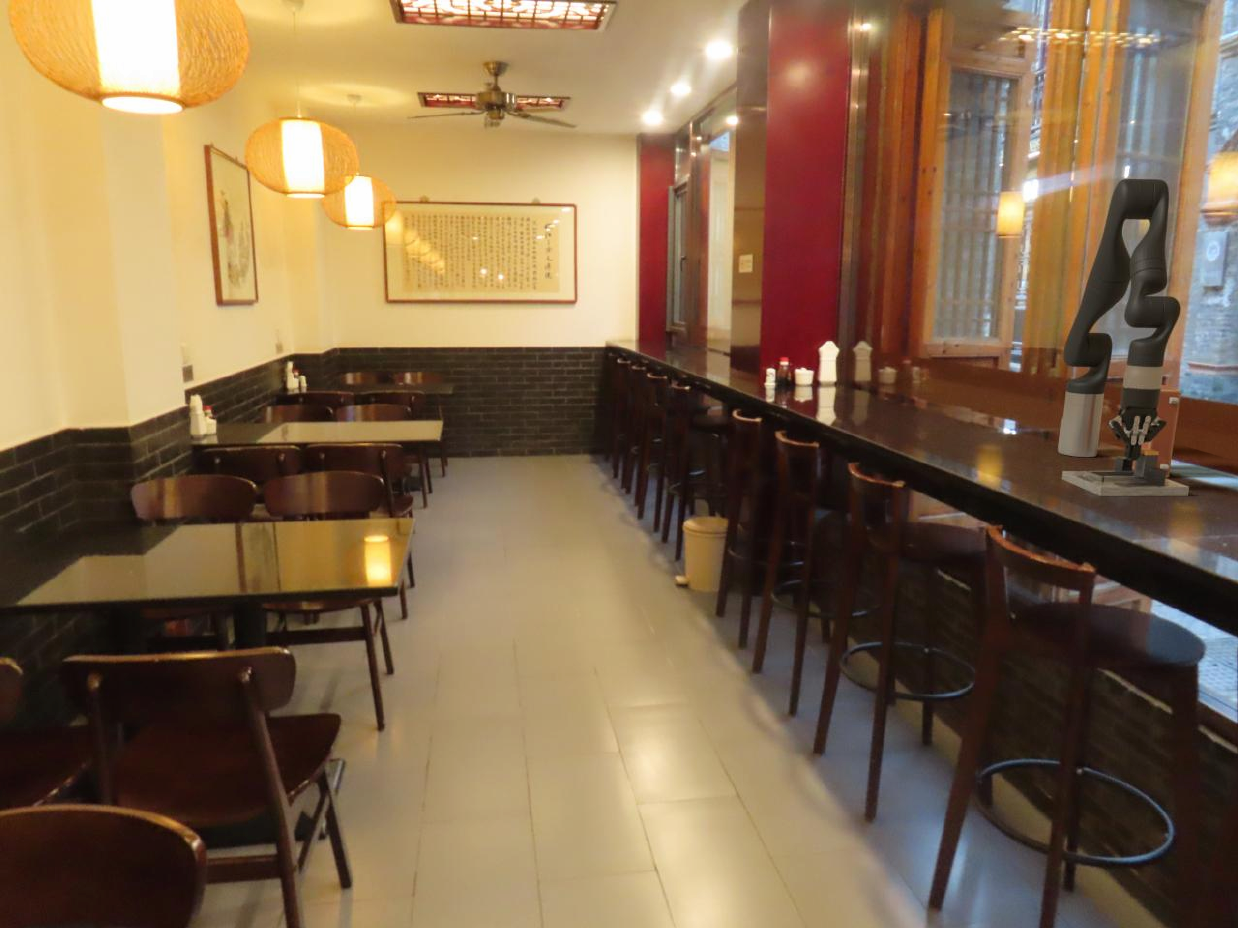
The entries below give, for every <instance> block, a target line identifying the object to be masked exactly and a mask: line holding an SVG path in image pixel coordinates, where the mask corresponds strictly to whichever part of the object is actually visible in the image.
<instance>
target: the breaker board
mask: <svg viewBox="0 0 1238 928" xmlns="http://www.w3.org/2000/svg"><path fill="white" fill-rule="evenodd" d="M1132 465H1133V461H1130V460H1127V459H1126V457H1125V456H1116V458H1115V464H1114V470H1063V471H1062V475H1061V480H1063V481H1065V482H1067V483H1069V484H1072V485H1074V486H1077V487H1078V488H1081V489H1083V490H1085V491H1088V492H1090V493H1092V494H1093V495H1097V496H1100V497H1142V496H1143V497H1149V496H1150V497H1151V496H1152V497H1154V496H1157V497H1158V496H1159V497H1161V496H1163V497H1164V496H1165V497H1167V496H1168V497H1170V496H1174V497H1175V496H1177V497H1178V496H1179V497H1180V496H1184V497H1185V496H1189V492H1190V491H1189V489H1190V486H1189V485H1185V484H1183V483H1180V482H1177V481H1173V480H1172V479H1168V478H1167V477H1166V470H1164V469H1161V468H1148V471H1147V476H1135V475H1133V474H1134V470H1133V469H1132Z"/></svg>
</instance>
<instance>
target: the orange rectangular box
mask: <svg viewBox="0 0 1238 928" xmlns="http://www.w3.org/2000/svg"><path fill="white" fill-rule="evenodd" d="M1181 398H1182V390H1180V389H1177V388H1174V387H1171V386H1167V385H1164V384H1162V385H1161V392H1160V399H1159V405H1158V407H1157V412H1158V417H1159V418H1160V419H1161V420H1163V421H1166V423H1167V424H1166V425H1165V426H1164V427H1163V429H1162V430H1161V431H1160V432H1159V433H1158V434H1157V435H1156V436H1155V437H1154V438H1153V439H1152V440H1151V441H1150V442H1145V443H1143V444H1142V446H1141V449H1152V450H1155V451H1158V452H1159V454H1158V461H1157V468H1161V469H1164V470H1166V478H1169V477H1170V472H1171V465H1172V460H1173V459H1172V458H1173V451H1174V445H1175V439H1176V438H1175V437H1176V432H1177V424H1178V418H1179V416H1180V415H1179V412H1180V405H1181V403H1180V402H1181ZM1148 428H1149V427H1148ZM1134 467H1135V461H1133V465H1132V470H1134Z"/></svg>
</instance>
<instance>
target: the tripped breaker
mask: <svg viewBox="0 0 1238 928" xmlns="http://www.w3.org/2000/svg"><path fill="white" fill-rule="evenodd" d="M1158 454H1159V452H1158V451H1155V450H1152V449H1141V453H1140V457H1139V458H1138V460H1137V461H1135V467H1134V469H1133V471H1134V474H1133V475H1135V476H1147V471H1148V468H1157V461H1158Z"/></svg>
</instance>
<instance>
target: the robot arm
mask: <svg viewBox="0 0 1238 928" xmlns="http://www.w3.org/2000/svg"><path fill="white" fill-rule="evenodd" d="M1169 203H1170V189H1169V186H1168V183H1167V182H1166V181H1165V180H1163V179H1157V178H1156V179H1155V178H1123V179H1122V180H1120V181H1119V182H1118V183H1116V186H1115V188H1114V191H1113V193H1112V196H1111V199H1110V203H1109V205H1108V206H1109V208H1108V212H1107V216H1106V220H1105V224H1104V228H1103V232H1102V236H1101V239H1100V244H1099V245H1098V249H1097V252H1096V256H1095V258H1094V260H1093V264H1092V266H1091V268H1090V272H1089V275H1088V278H1087V282H1086V285H1085V289H1084V292H1083V296H1082V299H1081V303H1080V304H1079V308H1078V311H1077V313H1076V316H1075V318H1074V321H1073V323H1072V326H1071V328H1070V330H1069V332H1068V335H1067V337H1066V340H1065V343H1064V347H1063V352H1062V357H1063V358H1062V359H1063V362H1064V364H1065V365H1066V366H1068V367H1075V368H1089V370H1088V371H1087V372H1086V373H1085V374H1083V375H1081V376H1078V377H1075V378H1072V379H1070V380H1068V381H1067V382H1066V387H1065V394H1064V395H1065V397H1064V406H1063V414H1062V417H1061V421H1060V430H1059V437H1058V438H1059V439H1058V447H1057V451H1058V453H1059V454H1061V455H1065V456H1071V457H1079V458H1093V457H1096V456H1097V455H1098V454H1097V453H1098V446H1099V445H1098V444H1099V440H1100V439H1099V437H1100V430H1101V423H1102V413H1103V405H1104V397H1105V390H1106V385H1107V382H1108V378H1109V377H1108V376H1109V370H1110V366H1111V360H1112V356H1113V355H1112V354H1113V344H1114V343H1113V339H1112V336H1111V335H1110V334H1109V333H1106V332H1091V330H1092V328H1093V327H1094V326H1095V324H1096V323H1097V322H1098V321H1099V320H1100V319H1101V318H1102V317H1103V316H1104V315H1105V314H1107V313H1108V312H1109V311H1111V309H1112V308H1114V307H1115V306H1116V305H1117V304H1118V303H1119V302H1120V301H1121V300H1122V299H1123V298H1124V297H1125V295H1126V293H1127V290H1128V287H1129V285H1130V290H1129V296H1128V300H1127V303H1126V306H1125V307H1124V313H1123V319H1124V321H1125V323H1126V324H1127V325H1128V326H1129V327H1131V328H1136V329H1155V331H1154V332H1153V333H1152V334H1151V335H1150V336H1147V337H1142V338H1136V339H1133V340H1132V341H1130V343H1129V346H1128V351H1127V352H1128V354H1127V361H1126V366H1125V370H1124V375H1123V379H1122V388H1121V395H1120V401H1119V403H1120V408H1119V410H1118V412H1117V416H1116V417H1114V418H1113V419H1107V420H1106V421H1107V422H1106V423H1107V425H1108V426H1109V429H1111V431H1112V432H1113V434H1114V436H1115V437H1116V439H1117V440H1118V441H1121V442H1123V443H1124V444H1125V448H1124V457H1126V459H1127V460H1130V461H1137V460H1138V458H1139V457H1140V453H1141V446H1142V444H1143V443H1145V442H1150V441H1151V440H1152V439H1153V438H1154V437H1155V436H1156V435H1157V434H1158V433H1159V432H1160V431H1161V430H1162V429H1163V427H1164V426H1165V425H1166V424H1167V423H1166V421H1163V420H1161V419H1160V418H1159V417H1158V412H1157V407H1158V405H1159V399H1160V392H1161V385H1163V384H1162V383H1163V372H1164V371H1163V370H1164V369H1163V368H1164V360H1165V354H1166V349H1167V345H1168V343H1169V340H1170V338H1171V335H1172V332H1173V330H1174V329H1175V327H1176V324H1177V323H1178V320H1179V318H1180V316H1181V310H1182V309H1181V308H1182V307H1181V303H1180V302H1179V300H1178V299H1177V298H1176V297H1174V296H1169V295H1167V296H1166V295H1162V296H1161V295H1160V296H1159V295H1155V294H1158V293H1160V292H1163V291H1164V290H1165V289H1166V288H1167V285H1168V271H1167V262H1166V261H1167V260H1166V240H1167V230H1168V219H1169V205H1170V204H1169ZM1126 220H1135V221H1137V220H1138V221H1139V220H1140V221H1142V220H1144V221H1149V227H1148V229H1147V231H1146V234H1145V235H1144V237H1143V238H1142V239H1141V240H1140V242H1139V243H1137V245H1136V247H1135V248H1134V250H1133V251H1132V254H1131V256H1130V254H1129V252H1128V249H1127V247H1126V245H1125V242H1124V241H1125V240H1124V236H1123V227H1124V222H1126ZM1122 426H1123V427H1124V428H1123V427H1122ZM1148 427H1149V428H1148Z"/></svg>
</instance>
